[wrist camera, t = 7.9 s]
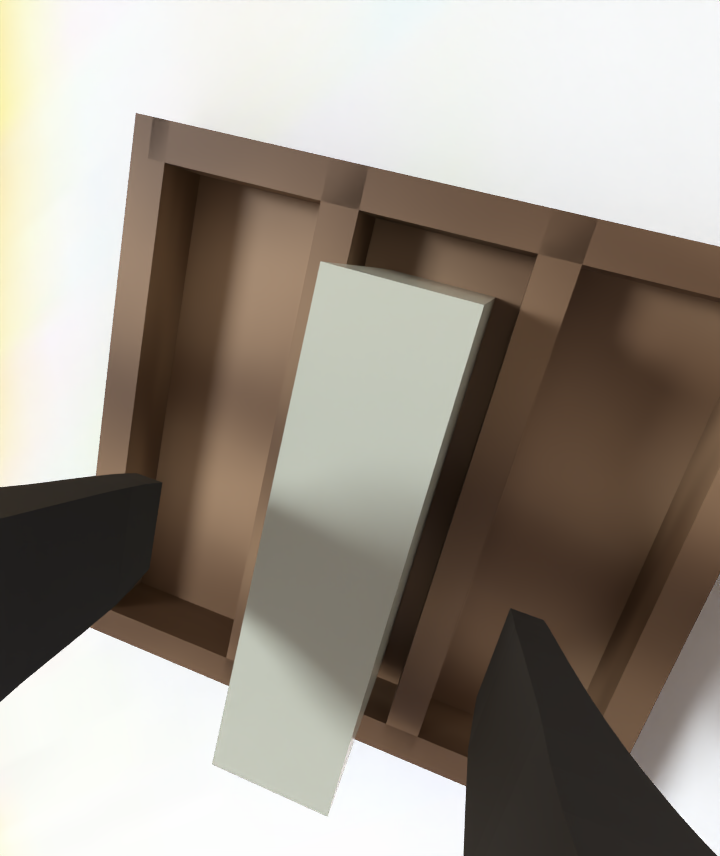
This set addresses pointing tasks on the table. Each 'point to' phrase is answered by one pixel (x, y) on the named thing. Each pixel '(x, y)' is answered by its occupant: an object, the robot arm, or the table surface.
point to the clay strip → (345, 519)
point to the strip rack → (472, 439)
